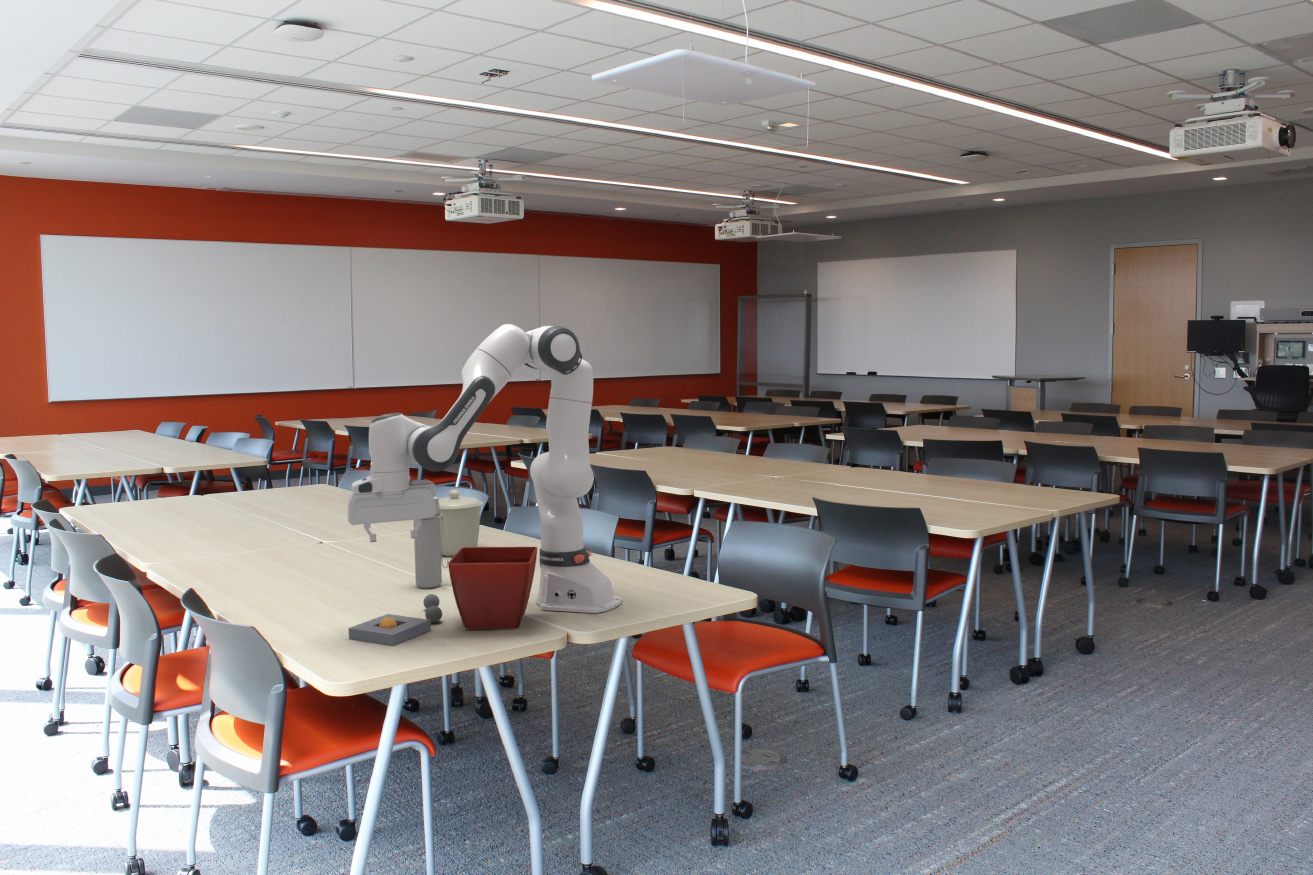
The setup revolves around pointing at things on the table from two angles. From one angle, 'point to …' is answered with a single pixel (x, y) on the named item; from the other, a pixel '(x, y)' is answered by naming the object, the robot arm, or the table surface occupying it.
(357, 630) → the grey square frame
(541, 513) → the robot arm
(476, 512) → the canister
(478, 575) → the plant pot
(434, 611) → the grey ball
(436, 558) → the water bottle
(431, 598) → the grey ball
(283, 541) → the table surface
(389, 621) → the orange ball
